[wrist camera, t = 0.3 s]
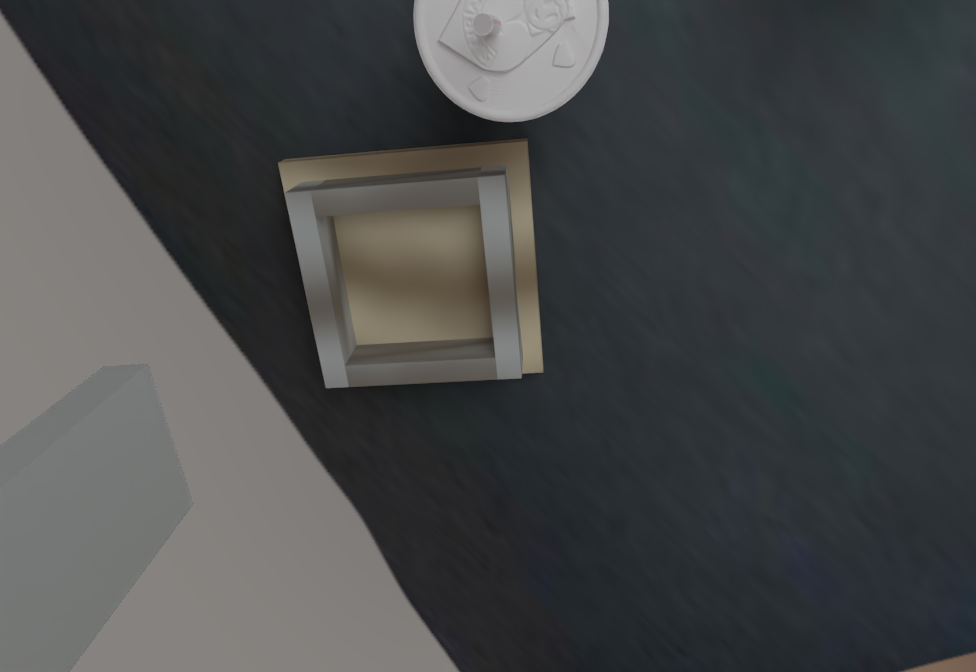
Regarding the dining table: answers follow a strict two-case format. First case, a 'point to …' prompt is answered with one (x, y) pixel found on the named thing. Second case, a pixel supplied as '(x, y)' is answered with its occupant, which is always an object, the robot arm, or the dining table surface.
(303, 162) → the tray
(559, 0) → the smoothie
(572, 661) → the dining table surface
